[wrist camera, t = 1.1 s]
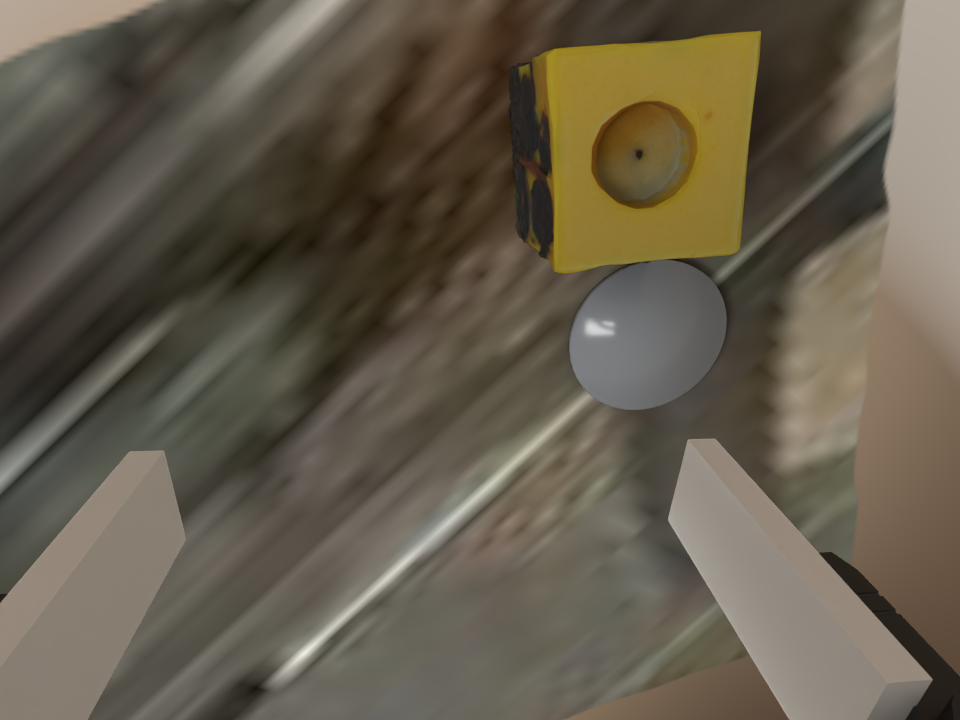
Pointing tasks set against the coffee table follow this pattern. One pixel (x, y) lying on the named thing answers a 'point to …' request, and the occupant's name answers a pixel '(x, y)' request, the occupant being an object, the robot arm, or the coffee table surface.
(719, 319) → the coaster
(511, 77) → the candle
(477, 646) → the coffee table surface
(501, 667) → the coffee table surface
